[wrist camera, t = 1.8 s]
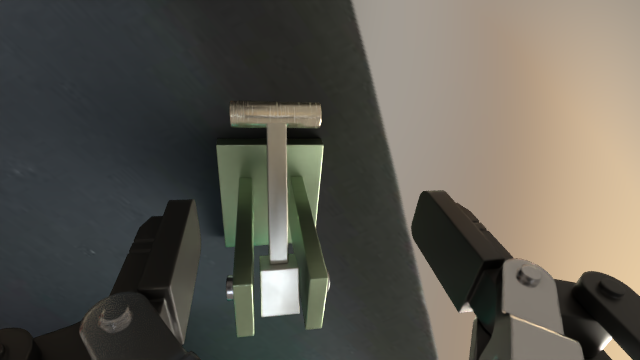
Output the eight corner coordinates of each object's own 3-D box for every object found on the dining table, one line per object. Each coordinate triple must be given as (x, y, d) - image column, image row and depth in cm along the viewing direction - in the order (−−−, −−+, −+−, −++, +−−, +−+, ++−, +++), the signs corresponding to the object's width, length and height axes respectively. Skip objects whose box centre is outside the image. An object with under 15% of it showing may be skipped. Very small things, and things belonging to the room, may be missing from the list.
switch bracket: (217, 138, 24) (194, 246, 15) (321, 138, 26) (363, 236, 16) (226, 238, 30) (214, 368, 20) (312, 233, 31) (340, 351, 21)
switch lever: (231, 103, 19) (228, 98, 17) (315, 105, 20) (323, 100, 18) (237, 300, 20) (235, 320, 18) (316, 292, 21) (323, 311, 19)
